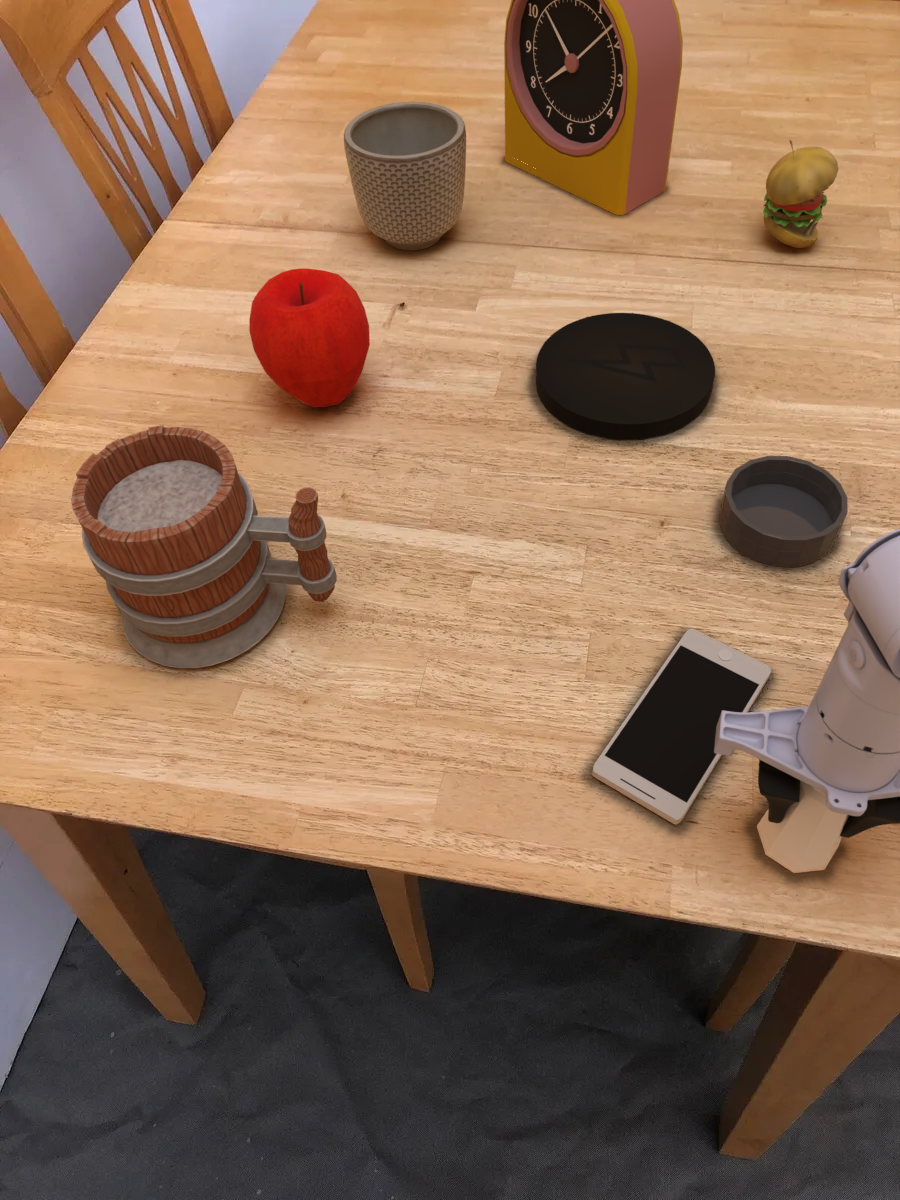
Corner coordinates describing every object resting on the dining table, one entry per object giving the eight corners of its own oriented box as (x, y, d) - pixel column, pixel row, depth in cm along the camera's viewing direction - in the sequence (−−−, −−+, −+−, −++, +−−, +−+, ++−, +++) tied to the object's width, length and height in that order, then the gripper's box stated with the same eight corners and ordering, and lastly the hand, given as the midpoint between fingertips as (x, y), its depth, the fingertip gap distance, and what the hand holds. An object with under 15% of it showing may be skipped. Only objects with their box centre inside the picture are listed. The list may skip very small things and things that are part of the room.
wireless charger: (508, 355, 98) (508, 339, 97) (657, 312, 102) (659, 296, 100) (582, 460, 88) (583, 445, 86) (746, 409, 91) (750, 393, 89)
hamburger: (824, 258, 106) (855, 154, 97) (761, 261, 106) (785, 158, 97) (808, 222, 111) (835, 120, 102) (747, 225, 111) (769, 124, 102)
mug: (154, 538, 84) (96, 411, 73) (360, 552, 82) (335, 422, 70) (99, 665, 76) (24, 544, 64) (327, 684, 74) (292, 561, 62)
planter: (487, 217, 116) (485, 110, 105) (440, 276, 108) (433, 167, 98) (389, 198, 120) (378, 93, 110) (337, 254, 112) (319, 147, 102)
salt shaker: (751, 863, 63) (790, 789, 54) (760, 793, 66) (797, 712, 57) (835, 884, 62) (888, 812, 53) (839, 812, 65) (890, 733, 56)
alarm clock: (502, 160, 124) (500, -73, 104) (550, 136, 128) (557, -94, 107) (619, 216, 114) (643, -29, 93) (668, 188, 117) (701, -54, 97)
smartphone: (771, 673, 72) (774, 666, 71) (678, 827, 64) (680, 821, 64) (687, 632, 75) (689, 625, 74) (589, 775, 67) (590, 769, 67)
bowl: (836, 492, 84) (847, 463, 81) (835, 576, 78) (847, 548, 75) (723, 476, 85) (730, 448, 83) (714, 557, 80) (721, 530, 77)
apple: (244, 393, 97) (211, 280, 86) (335, 345, 101) (314, 231, 90) (308, 450, 91) (281, 335, 80) (401, 396, 95) (388, 281, 85)
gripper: (729, 744, 49) (690, 847, 60) (1023, 801, 47) (928, 899, 57) (738, 640, 54) (700, 754, 64) (1009, 686, 51) (923, 797, 61)
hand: (808, 816), depth 61 cm, fingers closed on salt shaker, 4 cm apart
